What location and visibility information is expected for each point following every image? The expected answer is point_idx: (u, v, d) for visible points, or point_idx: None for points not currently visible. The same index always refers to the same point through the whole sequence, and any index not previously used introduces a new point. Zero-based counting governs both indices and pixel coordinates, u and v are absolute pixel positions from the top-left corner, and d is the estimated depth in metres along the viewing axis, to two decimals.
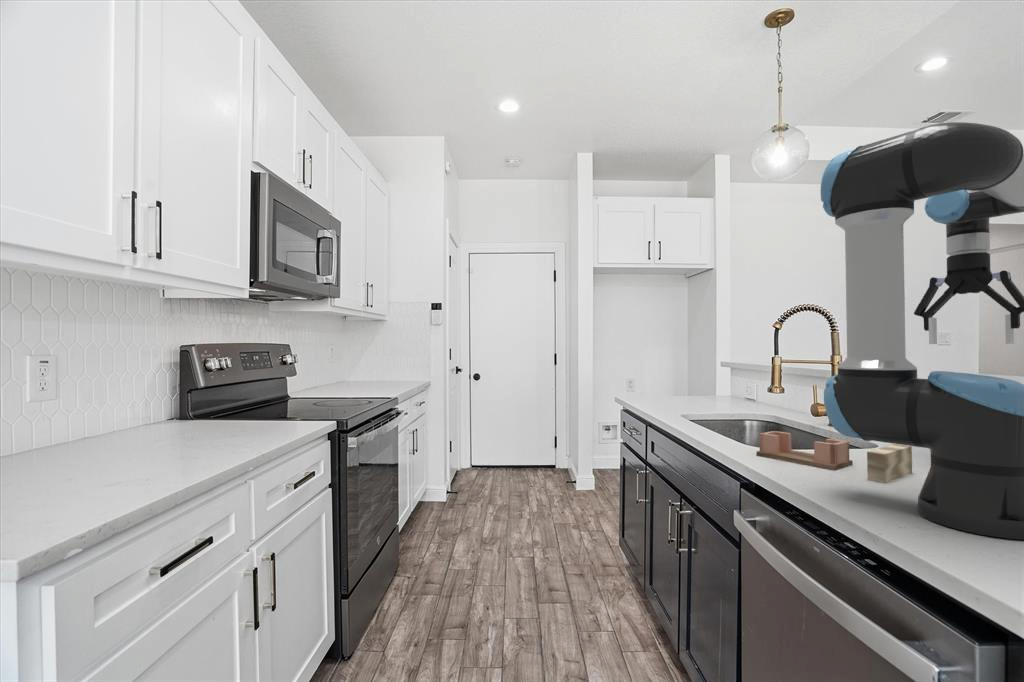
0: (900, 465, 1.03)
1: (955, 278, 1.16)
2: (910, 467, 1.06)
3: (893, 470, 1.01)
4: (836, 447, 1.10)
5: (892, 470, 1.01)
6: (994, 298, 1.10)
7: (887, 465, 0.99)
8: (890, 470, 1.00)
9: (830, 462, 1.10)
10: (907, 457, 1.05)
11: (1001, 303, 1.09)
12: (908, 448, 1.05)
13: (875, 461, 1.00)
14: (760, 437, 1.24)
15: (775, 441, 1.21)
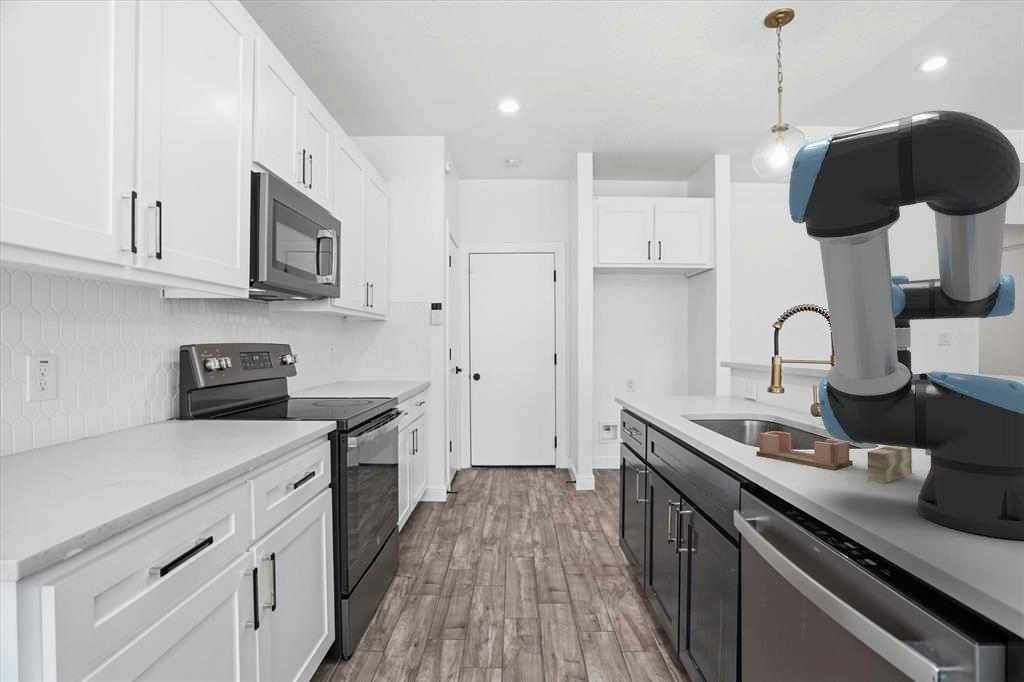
0: (900, 465, 1.03)
1: None
2: (910, 467, 1.06)
3: (893, 470, 1.01)
4: (836, 447, 1.10)
5: (893, 470, 1.01)
6: None
7: (888, 465, 0.99)
8: (890, 470, 1.00)
9: (830, 462, 1.10)
10: (907, 457, 1.05)
11: None
12: (908, 448, 1.05)
13: (875, 461, 1.00)
14: (760, 437, 1.24)
15: (775, 441, 1.21)
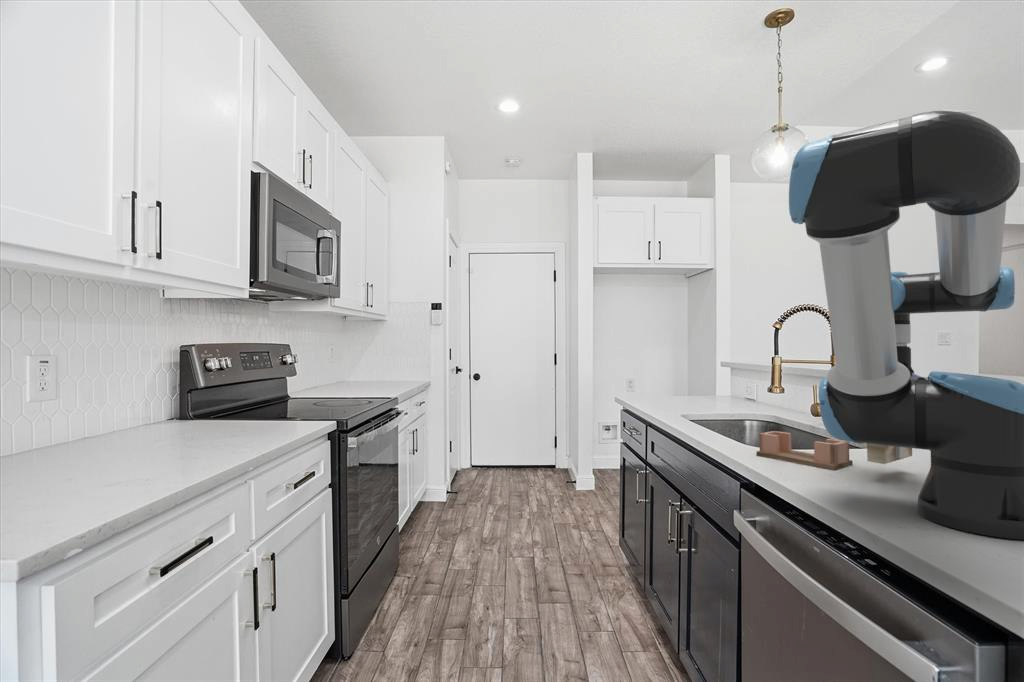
0: None
1: None
2: (910, 449, 1.05)
3: (893, 451, 1.01)
4: (836, 447, 1.10)
5: (892, 451, 1.00)
6: None
7: (887, 445, 0.99)
8: (889, 450, 1.00)
9: (830, 462, 1.10)
10: None
11: None
12: None
13: None
14: (760, 437, 1.24)
15: (775, 441, 1.21)
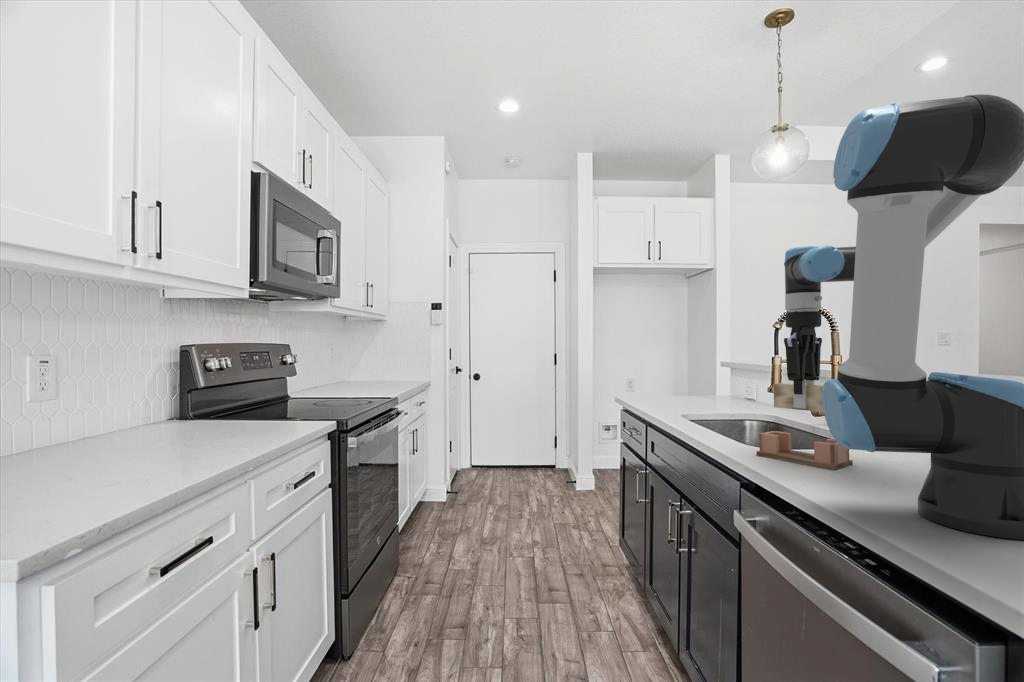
0: None
1: None
2: None
3: (790, 400, 1.20)
4: (836, 447, 1.10)
5: (790, 400, 1.20)
6: None
7: (780, 393, 1.22)
8: (784, 398, 1.21)
9: (830, 462, 1.10)
10: None
11: None
12: None
13: None
14: (760, 437, 1.24)
15: (775, 441, 1.21)
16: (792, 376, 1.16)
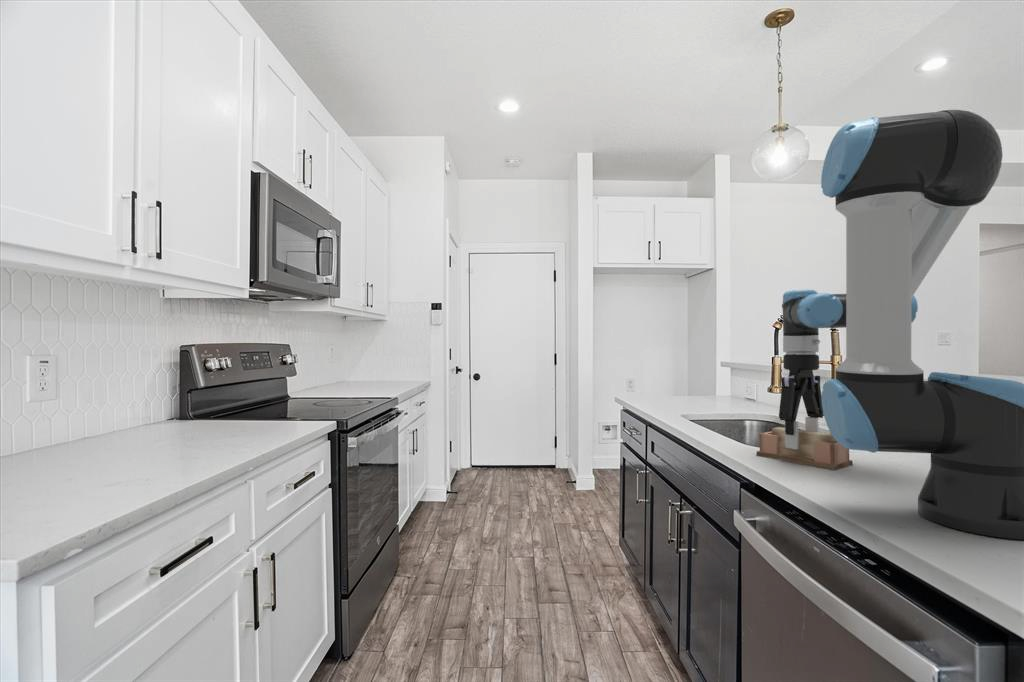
0: (805, 447, 1.17)
1: None
2: None
3: None
4: (836, 447, 1.10)
5: None
6: None
7: None
8: (782, 444, 1.21)
9: (830, 462, 1.10)
10: None
11: None
12: (823, 436, 1.13)
13: None
14: (760, 437, 1.24)
15: (775, 441, 1.21)
16: (784, 416, 1.14)
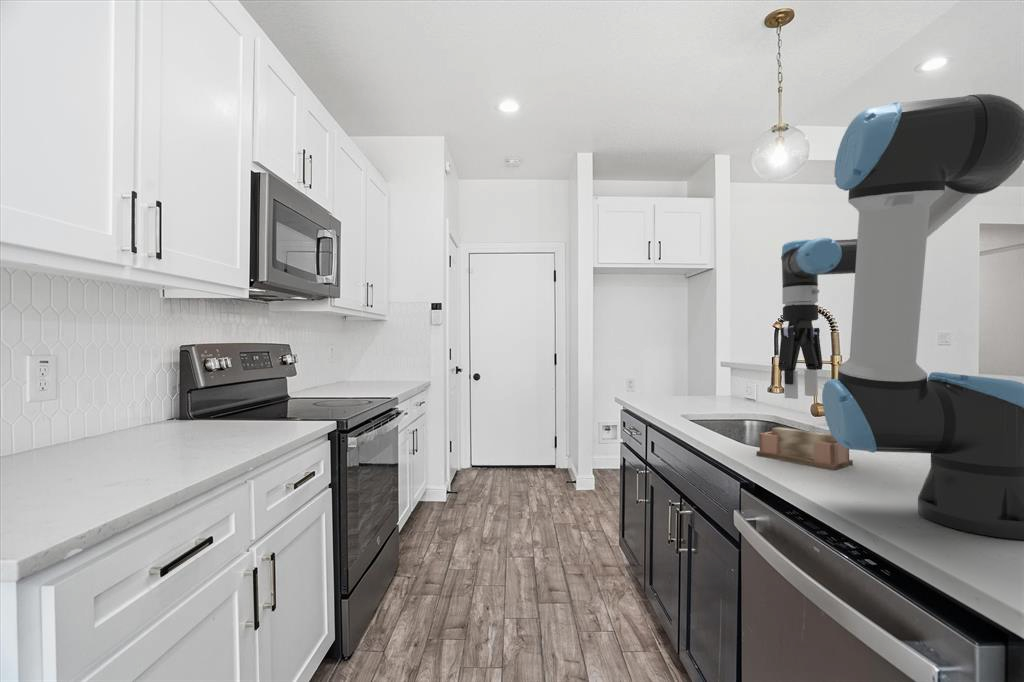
0: (805, 447, 1.17)
1: None
2: None
3: (789, 446, 1.20)
4: (836, 447, 1.10)
5: (788, 446, 1.20)
6: None
7: None
8: (782, 444, 1.21)
9: (830, 462, 1.10)
10: None
11: None
12: (823, 436, 1.13)
13: None
14: (760, 437, 1.24)
15: (775, 441, 1.21)
16: (783, 365, 1.15)
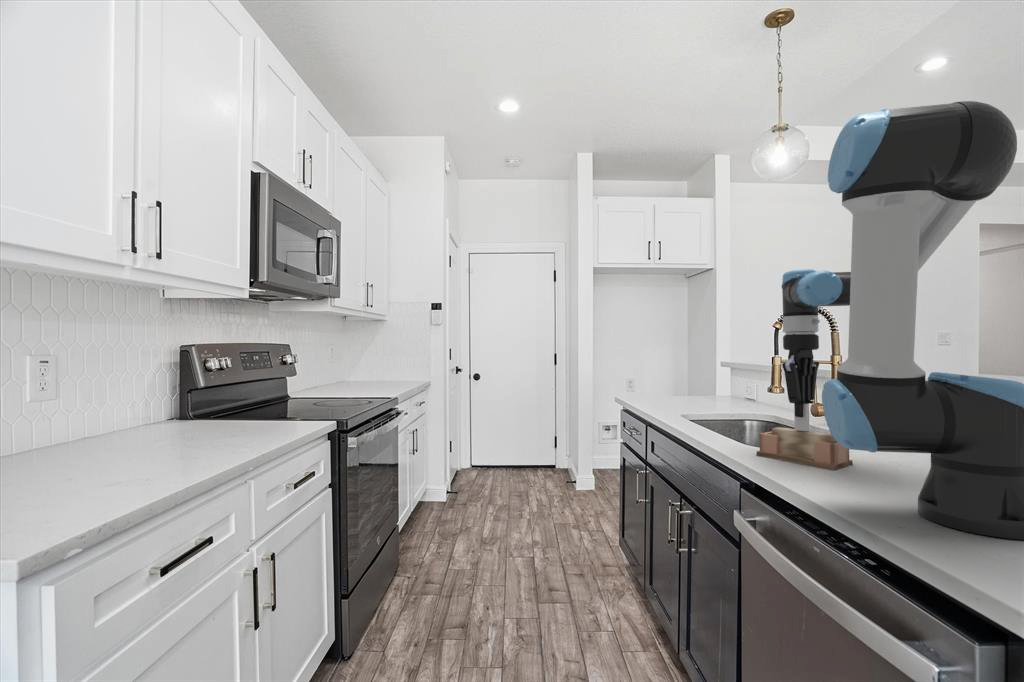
0: (805, 447, 1.17)
1: None
2: None
3: (789, 446, 1.20)
4: (836, 447, 1.10)
5: (788, 446, 1.20)
6: None
7: None
8: (782, 444, 1.21)
9: (830, 462, 1.10)
10: None
11: None
12: (823, 436, 1.13)
13: None
14: (760, 437, 1.24)
15: (775, 441, 1.21)
16: (793, 399, 1.17)
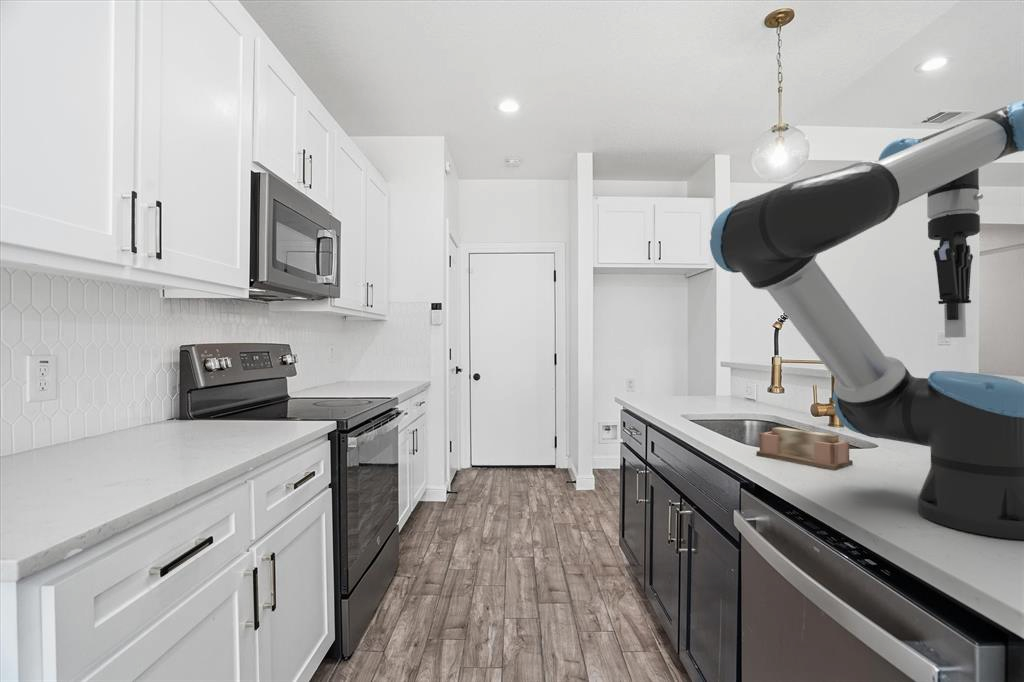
0: (805, 447, 1.17)
1: None
2: None
3: (789, 446, 1.20)
4: (836, 447, 1.10)
5: (788, 446, 1.20)
6: None
7: None
8: (782, 444, 1.21)
9: (830, 462, 1.10)
10: None
11: None
12: (823, 436, 1.13)
13: None
14: (760, 437, 1.24)
15: (775, 441, 1.21)
16: (947, 297, 0.93)
